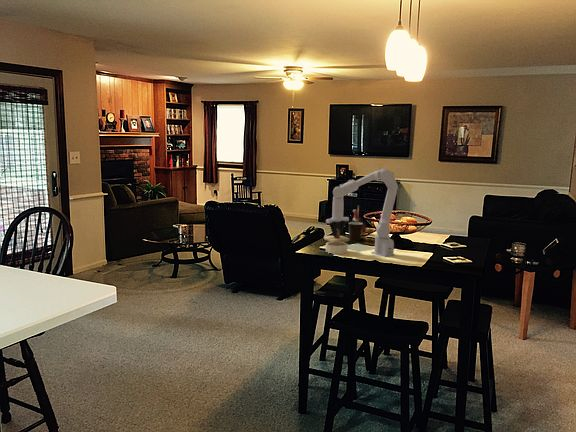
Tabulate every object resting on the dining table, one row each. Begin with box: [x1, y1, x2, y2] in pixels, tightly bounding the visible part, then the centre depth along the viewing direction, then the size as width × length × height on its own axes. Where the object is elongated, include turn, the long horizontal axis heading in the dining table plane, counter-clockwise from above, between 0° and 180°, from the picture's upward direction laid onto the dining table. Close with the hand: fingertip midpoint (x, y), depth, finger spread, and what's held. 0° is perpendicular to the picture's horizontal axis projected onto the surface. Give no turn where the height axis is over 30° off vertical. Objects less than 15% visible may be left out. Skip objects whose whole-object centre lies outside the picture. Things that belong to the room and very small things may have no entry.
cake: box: [351, 205, 366, 235], centre depth 309 cm, size 11×9×18 cm
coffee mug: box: [347, 221, 363, 242], centre depth 291 cm, size 12×9×10 cm
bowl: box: [325, 241, 349, 255], centre depth 258 cm, size 11×11×4 cm
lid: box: [323, 230, 350, 243], centre depth 257 cm, size 13×13×5 cm
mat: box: [347, 243, 375, 253], centre depth 269 cm, size 15×15×1 cm
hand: (337, 235), depth 257 cm, fingers closed on lid, 3 cm apart
